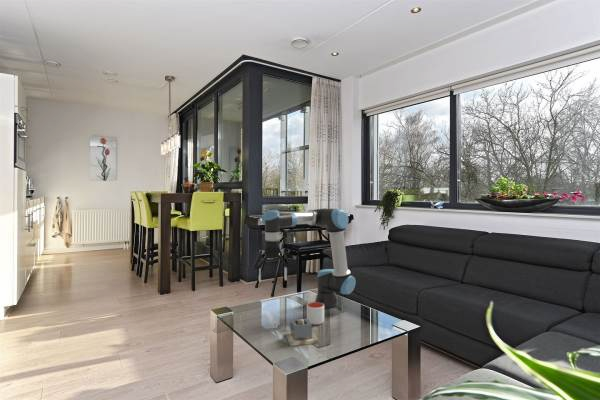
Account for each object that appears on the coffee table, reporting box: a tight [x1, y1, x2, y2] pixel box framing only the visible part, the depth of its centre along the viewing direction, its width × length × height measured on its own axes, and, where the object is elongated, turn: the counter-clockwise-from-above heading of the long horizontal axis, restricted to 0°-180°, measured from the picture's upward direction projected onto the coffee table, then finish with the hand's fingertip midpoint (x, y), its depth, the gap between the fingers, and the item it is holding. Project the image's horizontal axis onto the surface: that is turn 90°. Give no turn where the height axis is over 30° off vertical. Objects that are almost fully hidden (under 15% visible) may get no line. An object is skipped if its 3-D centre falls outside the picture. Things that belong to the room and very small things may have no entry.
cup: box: [306, 301, 325, 326], centre depth 203 cm, size 10×10×10 cm
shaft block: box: [284, 318, 319, 347], centre depth 181 cm, size 14×14×10 cm
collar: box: [289, 317, 313, 340], centre depth 181 cm, size 9×9×7 cm
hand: (272, 280), depth 185 cm, fingers open, 13 cm apart
